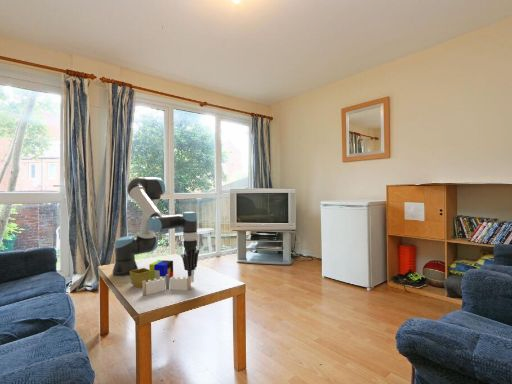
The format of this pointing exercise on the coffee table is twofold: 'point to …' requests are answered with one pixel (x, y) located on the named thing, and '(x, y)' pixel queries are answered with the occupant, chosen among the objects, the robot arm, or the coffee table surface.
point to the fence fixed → (155, 285)
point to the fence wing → (180, 283)
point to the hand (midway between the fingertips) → (191, 281)
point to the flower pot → (140, 276)
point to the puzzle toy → (161, 269)
